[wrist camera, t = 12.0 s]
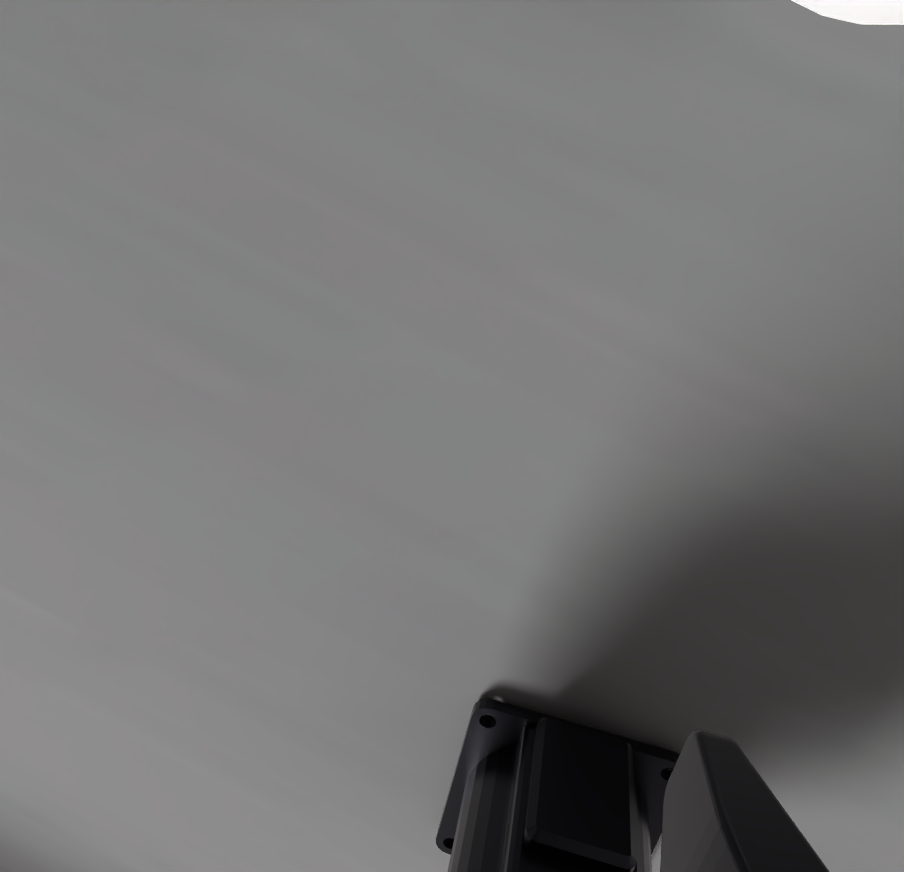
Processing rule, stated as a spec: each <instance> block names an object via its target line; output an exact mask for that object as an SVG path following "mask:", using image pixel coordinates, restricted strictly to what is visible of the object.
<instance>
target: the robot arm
mask: <svg viewBox="0 0 904 872" xmlns="http://www.w3.org/2000/svg"><path fill="white" fill-rule="evenodd" d="M483 715H490V716H492V717H494V718H486V717H484V716H483ZM666 768H673V770H671V771H670V770H665V769H666ZM661 833H662V845H661V868H660V872H829V870H828V869H827V868H826V866H825V865H824V863H823V862H822V861H821V859H820V858H819V857H818V855H817V854H816V852H815V851H814V850H813V848H812V847H811V845H810V844H809V843H808V841H807V840H806V839H805V837H804V836H803V834H802V833H801V832H800V830H799V829H798V828H797V826H796V825H795V823H794V822H793V821H792V819H791V818H790V816H789V815H788V814H787V812H786V811H785V810H784V808H783V807H782V805H781V804H780V803H779V801H778V800H777V799H776V797H775V796H774V794H773V793H772V792H771V790H770V789H769V787H768V786H767V785H766V783H765V782H764V781H763V779H762V778H761V776H760V775H759V774H758V772H757V771H756V770H755V768H754V767H753V765H752V764H751V763H750V761H749V760H748V758H747V757H746V756H745V754H744V753H743V752H742V750H741V749H740V747H739V746H738V745H737V744H736V743H735V742H734V741H733V740H732V739H730V738H728V737H725V736H722V735H718V734H715V733H711V732H708V731H704V730H700V729H698V730H695V731H693V732H692V733H691V734H690V735H689V737H688V738H687V740H686V743H685V745H684V747H683V749H682V751H681V754H677V753H675V752H672V751H669V750H665V749H662V748H659V747H655V746H652V745H648V744H645V743H641V742H638V741H634V740H631V739H627V738H624V737H621V736H617V735H614V734H610V733H607V732H603V731H600V730H596V729H593V728H589V727H586V726H583V725H579V724H576V723H572V722H569V721H565V720H562V719H558V718H555V717H551V716H548V715H544V714H541V713H538V712H534V711H531V710H527V709H524V708H520V707H517V706H513V705H510V704H506V703H503V702H500V701H496V700H492V699H483V700H480V701H478V702H477V703H476V704H475V706H474V707H473V711H472V714H471V718H470V721H469V725H468V728H467V731H466V735H465V738H464V742H463V745H462V749H461V752H460V756H459V759H458V763H457V766H456V770H455V773H454V777H453V780H452V783H451V787H450V790H449V794H448V797H447V801H446V804H445V808H444V811H443V815H442V818H441V822H440V825H439V828H438V833H437V837H436V844H437V846H438V848H439V849H441V850H442V851H443V852H445V853H448V854H451V858H450V863H449V868H448V872H652V865H651V854H652V852H653V850H654V848H655V845H656V843H657V841H658V839H659V837H660V835H661ZM452 838H453V839H452Z"/></svg>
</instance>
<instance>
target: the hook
mask: <svg viewBox="0 0 904 872" xmlns="http://www.w3.org/2000/svg"><path fill="white" fill-rule="evenodd" d="M792 1H794V2H796V3H798V4H800V5H802V6H804V7H806V8H808V9H810V10H812V11H814V12H816V13H818V14H820V15H822V16H826V17H831V18H835V19H839V20H844V21H848V22H853V23H857V24H880V25H903V24H904V0H792Z"/></svg>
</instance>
